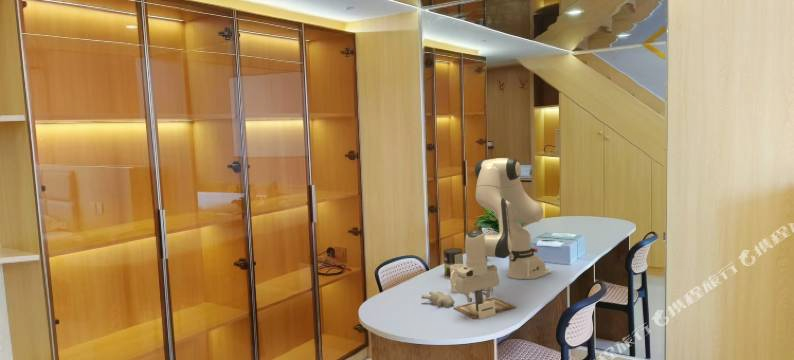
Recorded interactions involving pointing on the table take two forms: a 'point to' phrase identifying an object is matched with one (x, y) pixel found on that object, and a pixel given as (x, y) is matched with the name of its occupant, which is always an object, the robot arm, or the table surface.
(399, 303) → the table surface
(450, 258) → the coffee can
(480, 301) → the marker
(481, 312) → the word card
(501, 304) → the picture frame
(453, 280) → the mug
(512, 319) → the table surface
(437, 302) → the bunny figurine
